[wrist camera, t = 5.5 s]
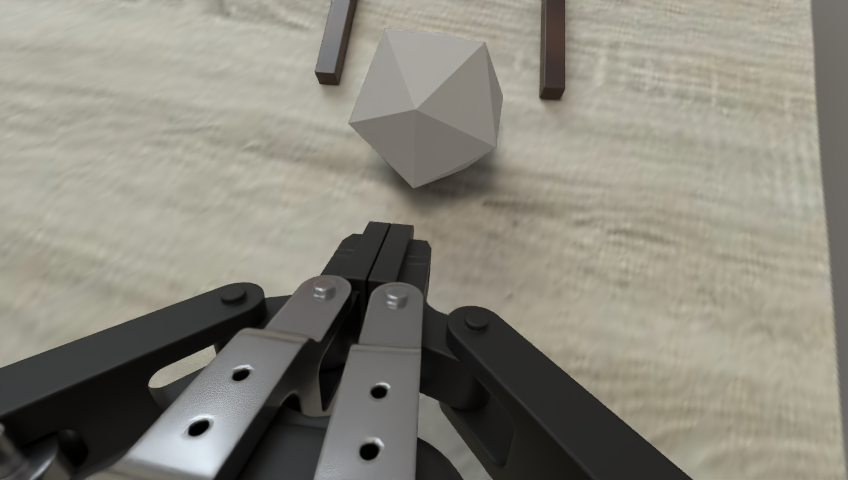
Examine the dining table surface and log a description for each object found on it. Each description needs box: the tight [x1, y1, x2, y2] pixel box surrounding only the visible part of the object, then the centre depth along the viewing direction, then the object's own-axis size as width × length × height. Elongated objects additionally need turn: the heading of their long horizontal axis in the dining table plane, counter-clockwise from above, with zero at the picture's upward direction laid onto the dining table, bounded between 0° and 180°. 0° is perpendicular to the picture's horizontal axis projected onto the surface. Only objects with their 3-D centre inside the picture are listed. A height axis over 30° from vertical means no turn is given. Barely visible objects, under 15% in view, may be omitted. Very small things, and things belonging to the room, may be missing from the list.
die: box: [348, 28, 503, 188], centre depth 22 cm, size 8×9×10 cm
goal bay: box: [315, 0, 565, 100], centre depth 29 cm, size 16×18×1 cm
